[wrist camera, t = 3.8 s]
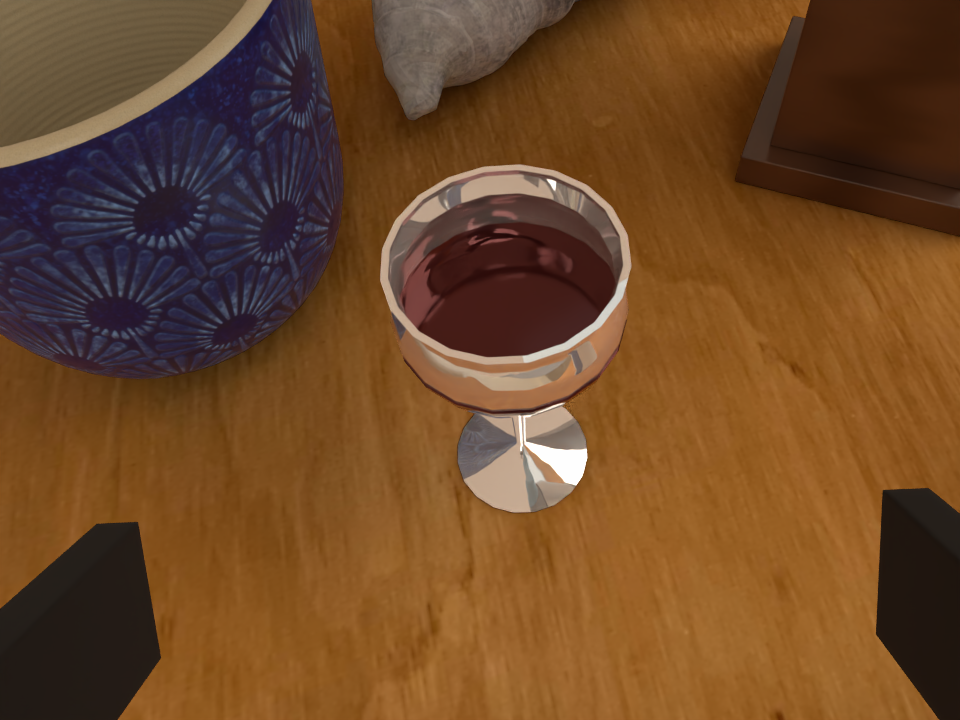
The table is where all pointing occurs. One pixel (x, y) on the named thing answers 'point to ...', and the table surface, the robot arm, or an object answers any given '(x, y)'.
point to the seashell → (452, 42)
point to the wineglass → (510, 318)
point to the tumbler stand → (865, 111)
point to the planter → (161, 178)
